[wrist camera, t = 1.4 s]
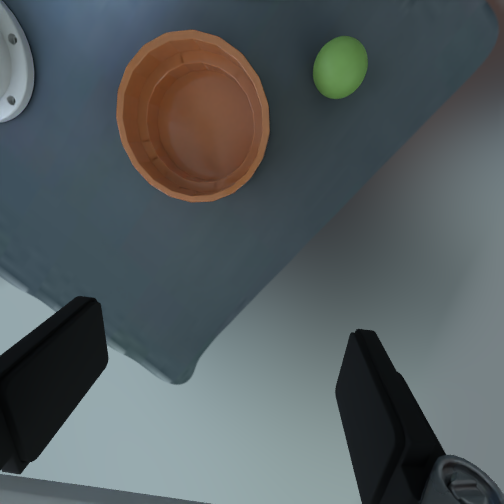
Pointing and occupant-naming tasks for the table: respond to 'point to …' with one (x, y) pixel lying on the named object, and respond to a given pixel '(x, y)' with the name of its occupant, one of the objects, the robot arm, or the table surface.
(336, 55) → the pea ball
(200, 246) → the table surface
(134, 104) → the bowl
